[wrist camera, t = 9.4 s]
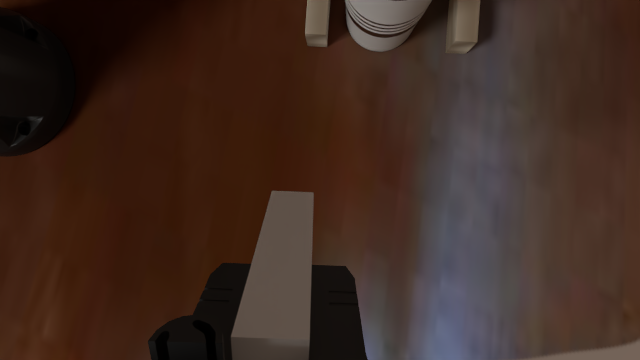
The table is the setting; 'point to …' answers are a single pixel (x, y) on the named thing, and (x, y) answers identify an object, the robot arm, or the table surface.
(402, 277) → the table surface
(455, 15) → the cream wooden u-shaped piece
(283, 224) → the robot arm
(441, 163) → the table surface
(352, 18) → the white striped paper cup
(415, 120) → the table surface
